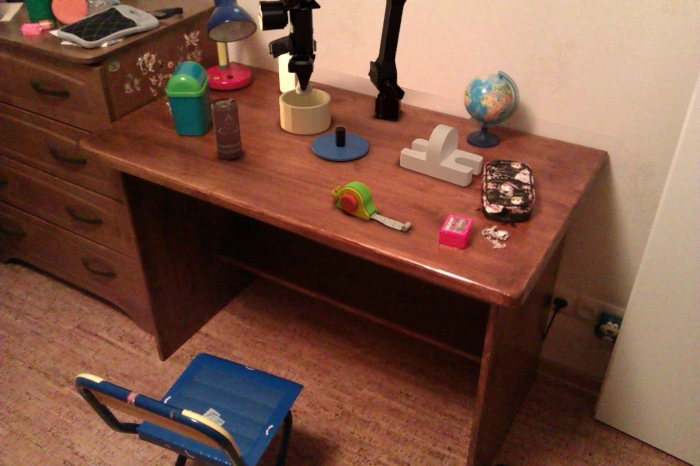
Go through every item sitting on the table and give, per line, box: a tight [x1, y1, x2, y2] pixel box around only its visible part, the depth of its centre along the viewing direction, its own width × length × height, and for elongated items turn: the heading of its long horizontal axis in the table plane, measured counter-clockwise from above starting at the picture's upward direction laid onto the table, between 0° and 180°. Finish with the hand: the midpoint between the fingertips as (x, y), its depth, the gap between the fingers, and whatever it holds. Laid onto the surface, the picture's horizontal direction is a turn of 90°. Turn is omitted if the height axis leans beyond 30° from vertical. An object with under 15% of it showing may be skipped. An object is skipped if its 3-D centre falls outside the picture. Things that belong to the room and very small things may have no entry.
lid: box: [311, 126, 370, 162], centre depth 153 cm, size 15×15×6 cm
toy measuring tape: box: [331, 180, 412, 233], centre depth 128 cm, size 6×20×7 cm, turn 55°
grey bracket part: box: [399, 123, 484, 187], centre depth 144 cm, size 10×18×11 cm, turn 56°
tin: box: [278, 88, 332, 136], centre depth 164 cm, size 14×14×8 cm
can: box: [211, 97, 243, 161], centre depth 147 cm, size 6×6×14 cm
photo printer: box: [278, 52, 298, 94], centre depth 179 cm, size 10×4×12 cm, turn 35°
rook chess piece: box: [296, 81, 313, 96], centre depth 158 cm, size 4×4×8 cm
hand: (304, 87), depth 159 cm, fingers closed on rook chess piece, 4 cm apart
